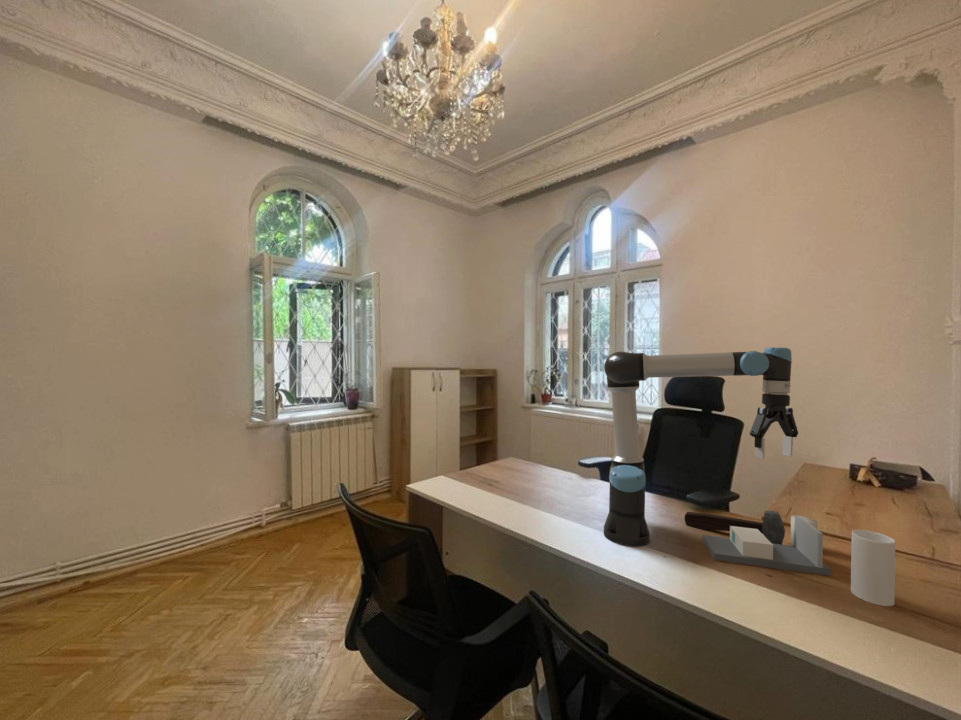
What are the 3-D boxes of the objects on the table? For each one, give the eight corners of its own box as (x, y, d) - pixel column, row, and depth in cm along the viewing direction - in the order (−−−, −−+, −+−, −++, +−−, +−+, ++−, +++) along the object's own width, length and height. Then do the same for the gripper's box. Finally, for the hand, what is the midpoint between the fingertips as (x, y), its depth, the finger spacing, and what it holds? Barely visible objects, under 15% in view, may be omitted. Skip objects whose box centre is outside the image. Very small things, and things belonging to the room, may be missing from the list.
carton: (742, 555, 122) (742, 541, 122) (729, 539, 134) (729, 525, 134) (773, 559, 120) (773, 545, 120) (757, 542, 132) (757, 529, 132)
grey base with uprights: (714, 559, 123) (714, 521, 124) (702, 540, 137) (702, 505, 137) (830, 576, 115) (831, 534, 115) (805, 553, 129) (806, 516, 129)
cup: (842, 588, 109) (843, 529, 109) (869, 587, 110) (870, 529, 110) (874, 606, 101) (875, 543, 101) (903, 605, 101) (904, 542, 102)
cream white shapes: (796, 549, 132) (797, 522, 132) (786, 540, 138) (787, 514, 138) (821, 552, 130) (822, 525, 130) (810, 543, 136) (811, 517, 136)
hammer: (686, 536, 149) (786, 550, 130) (682, 505, 150) (781, 515, 131) (688, 532, 153) (787, 545, 134) (685, 502, 154) (782, 511, 135)
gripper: (761, 394, 126) (758, 461, 126) (812, 394, 135) (810, 457, 135) (738, 392, 133) (736, 455, 133) (789, 392, 142) (786, 452, 142)
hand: (773, 456), depth 134 cm, fingers open, 13 cm apart
